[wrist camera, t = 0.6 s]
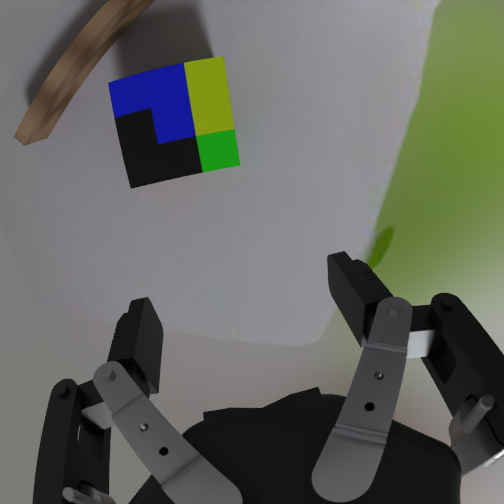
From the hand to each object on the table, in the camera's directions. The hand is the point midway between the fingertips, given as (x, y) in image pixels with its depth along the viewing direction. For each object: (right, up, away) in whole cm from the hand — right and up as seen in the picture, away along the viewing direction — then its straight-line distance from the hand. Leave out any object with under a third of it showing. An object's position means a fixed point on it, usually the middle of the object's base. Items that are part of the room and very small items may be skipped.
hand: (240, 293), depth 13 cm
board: (-18, +25, +13) cm, 33 cm away
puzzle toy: (-8, +17, +19) cm, 27 cm away
